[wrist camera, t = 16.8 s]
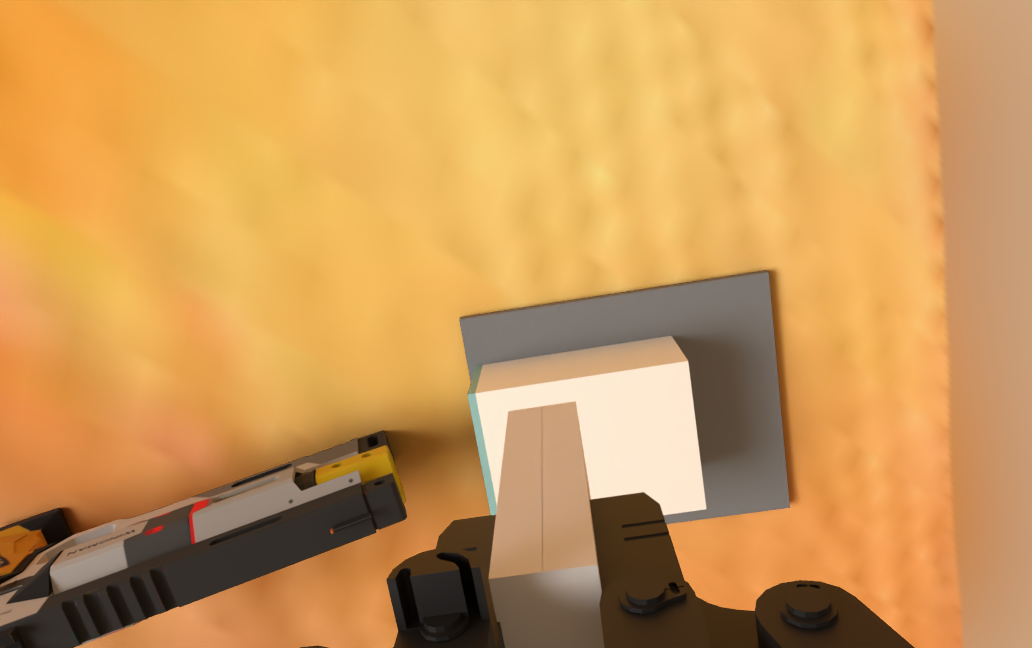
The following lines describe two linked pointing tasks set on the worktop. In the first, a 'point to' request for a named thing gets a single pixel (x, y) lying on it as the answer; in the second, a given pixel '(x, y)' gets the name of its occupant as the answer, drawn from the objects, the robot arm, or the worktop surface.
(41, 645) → the toy gun
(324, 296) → the worktop surface
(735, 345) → the mat
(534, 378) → the cream rectangular block
